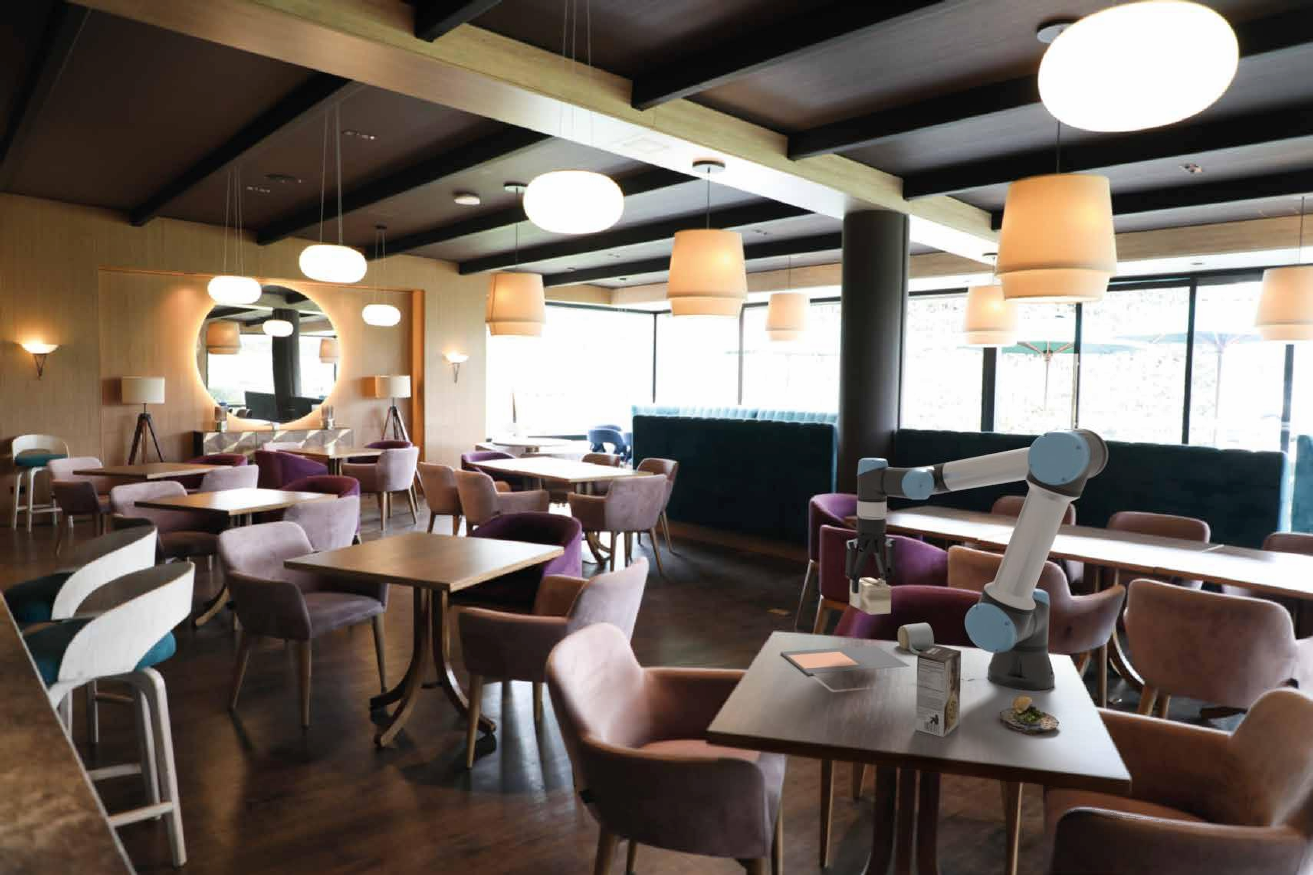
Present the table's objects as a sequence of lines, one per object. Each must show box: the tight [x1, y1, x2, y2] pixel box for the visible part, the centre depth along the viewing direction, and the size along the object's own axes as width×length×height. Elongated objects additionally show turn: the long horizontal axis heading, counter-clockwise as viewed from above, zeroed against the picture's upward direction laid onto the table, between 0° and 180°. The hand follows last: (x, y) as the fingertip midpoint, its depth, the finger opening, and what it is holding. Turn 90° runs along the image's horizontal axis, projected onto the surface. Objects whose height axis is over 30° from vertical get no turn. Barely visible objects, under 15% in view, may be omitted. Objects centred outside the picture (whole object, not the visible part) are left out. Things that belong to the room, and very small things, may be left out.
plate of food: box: [998, 691, 1060, 737], centre depth 181 cm, size 12×12×8 cm
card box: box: [849, 576, 892, 615], centre depth 224 cm, size 11×6×7 cm, turn 14°
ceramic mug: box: [897, 622, 935, 655], centre depth 231 cm, size 10×8×7 cm
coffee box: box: [915, 644, 962, 738], centre depth 179 cm, size 9×6×16 cm
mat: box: [780, 644, 911, 677], centre depth 223 cm, size 18×28×1 cm, turn 104°
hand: (869, 604), depth 224 cm, fingers closed on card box, 6 cm apart
